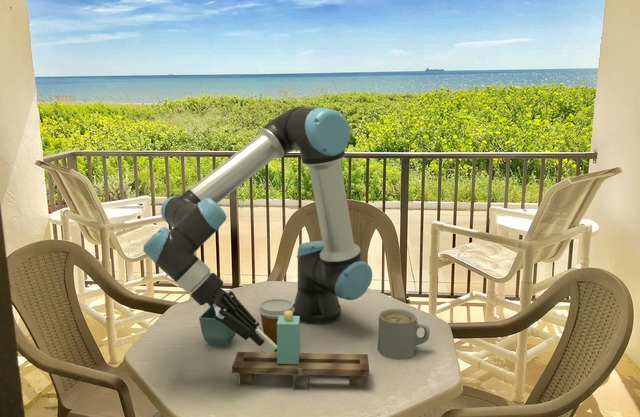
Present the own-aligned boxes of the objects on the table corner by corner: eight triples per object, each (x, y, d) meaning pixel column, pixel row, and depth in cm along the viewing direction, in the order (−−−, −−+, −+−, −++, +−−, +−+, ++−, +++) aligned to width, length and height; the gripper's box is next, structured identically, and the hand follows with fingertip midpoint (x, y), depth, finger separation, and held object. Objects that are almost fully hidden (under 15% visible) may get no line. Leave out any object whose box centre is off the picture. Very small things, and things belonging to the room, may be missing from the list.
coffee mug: (375, 356, 150) (376, 320, 148) (380, 340, 159) (381, 306, 157) (427, 363, 147) (428, 326, 145) (429, 346, 156) (431, 311, 154)
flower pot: (230, 351, 152) (229, 320, 150) (199, 348, 154) (198, 317, 152) (241, 337, 161) (240, 307, 159) (212, 335, 162) (210, 305, 160)
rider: (277, 369, 135) (276, 315, 132) (279, 359, 140) (278, 307, 137) (298, 369, 135) (298, 316, 132) (299, 359, 140) (299, 308, 137)
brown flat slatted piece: (232, 387, 134) (231, 368, 133) (238, 369, 143) (238, 350, 142) (368, 390, 133) (369, 371, 132) (367, 371, 142) (367, 353, 141)
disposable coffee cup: (299, 341, 158) (299, 300, 156) (286, 356, 150) (286, 313, 147) (268, 336, 161) (267, 296, 159) (253, 351, 153) (252, 308, 150)
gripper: (196, 284, 140) (265, 348, 143) (182, 303, 128) (258, 374, 131) (217, 263, 139) (286, 329, 142) (205, 281, 126) (281, 353, 129)
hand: (272, 350), depth 136 cm, fingers closed
